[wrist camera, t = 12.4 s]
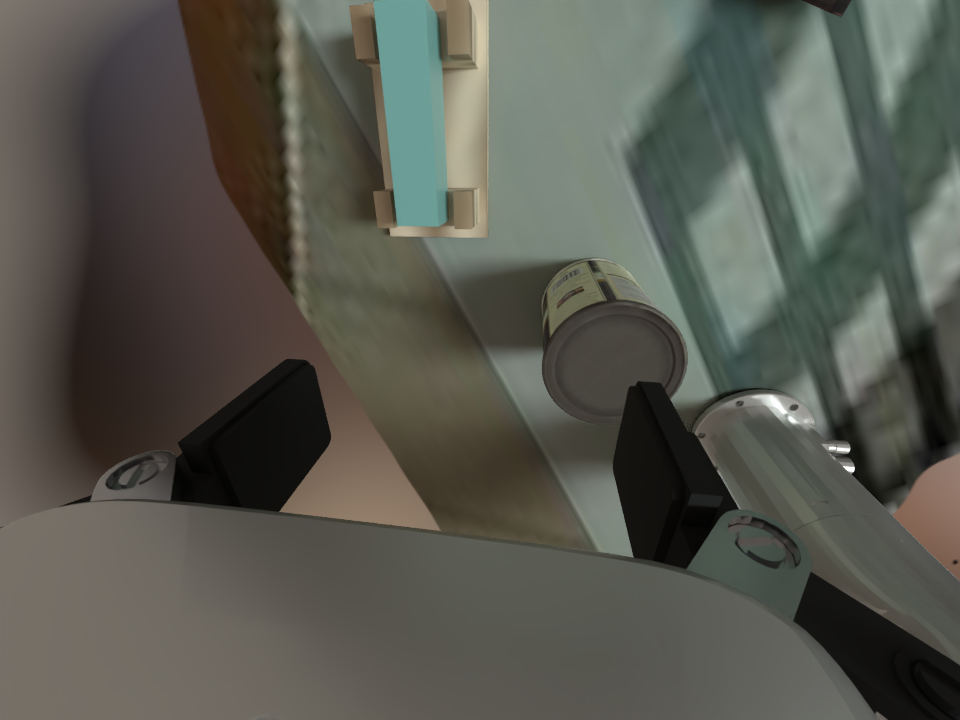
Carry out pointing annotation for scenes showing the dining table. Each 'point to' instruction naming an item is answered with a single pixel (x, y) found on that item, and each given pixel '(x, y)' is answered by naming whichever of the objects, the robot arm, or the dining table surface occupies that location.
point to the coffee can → (605, 341)
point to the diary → (831, 5)
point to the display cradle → (464, 112)
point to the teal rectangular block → (414, 109)
